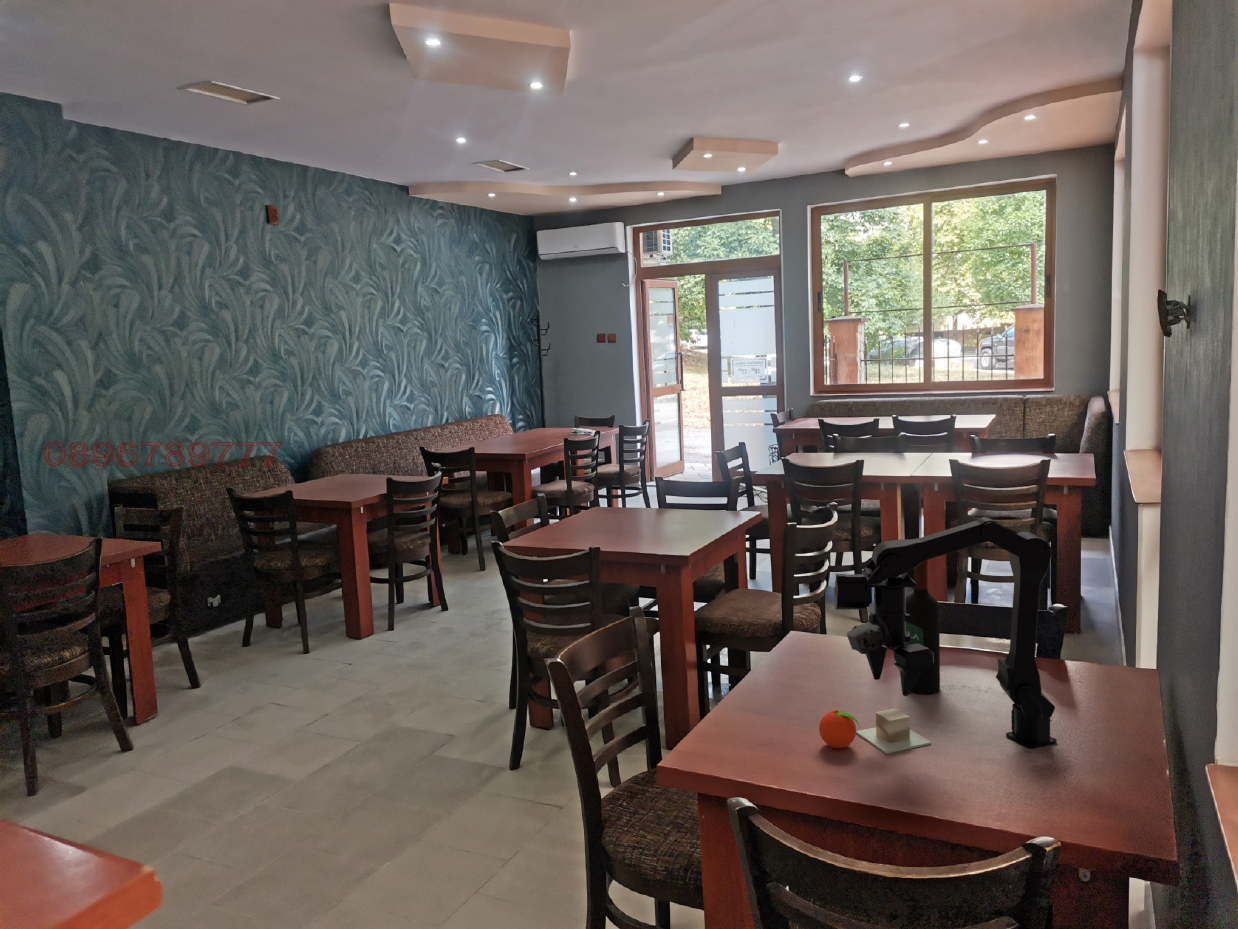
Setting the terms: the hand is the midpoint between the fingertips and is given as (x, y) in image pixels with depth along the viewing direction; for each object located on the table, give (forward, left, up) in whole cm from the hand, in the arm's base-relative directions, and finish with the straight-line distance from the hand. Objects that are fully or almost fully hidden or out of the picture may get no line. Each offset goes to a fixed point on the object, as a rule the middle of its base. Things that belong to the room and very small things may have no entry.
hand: (891, 687), depth 169 cm
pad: (0, 0, -10) cm, 10 cm away
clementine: (+1, +11, -11) cm, 15 cm away
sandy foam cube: (0, 0, -10) cm, 10 cm away
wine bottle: (+19, -21, -11) cm, 30 cm away
